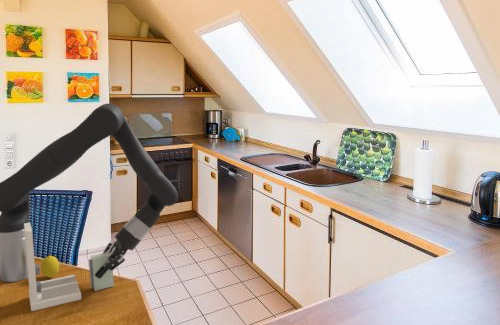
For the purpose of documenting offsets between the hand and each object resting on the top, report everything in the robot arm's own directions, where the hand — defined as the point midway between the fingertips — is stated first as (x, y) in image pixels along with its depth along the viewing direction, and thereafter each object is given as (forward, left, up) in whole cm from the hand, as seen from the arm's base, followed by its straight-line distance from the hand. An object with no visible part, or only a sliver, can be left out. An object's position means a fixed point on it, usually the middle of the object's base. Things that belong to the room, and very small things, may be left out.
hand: (96, 274), depth 127 cm
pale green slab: (-1, +2, -5) cm, 5 cm away
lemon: (-8, -18, -5) cm, 20 cm away
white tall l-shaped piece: (+6, -11, -5) cm, 13 cm away
